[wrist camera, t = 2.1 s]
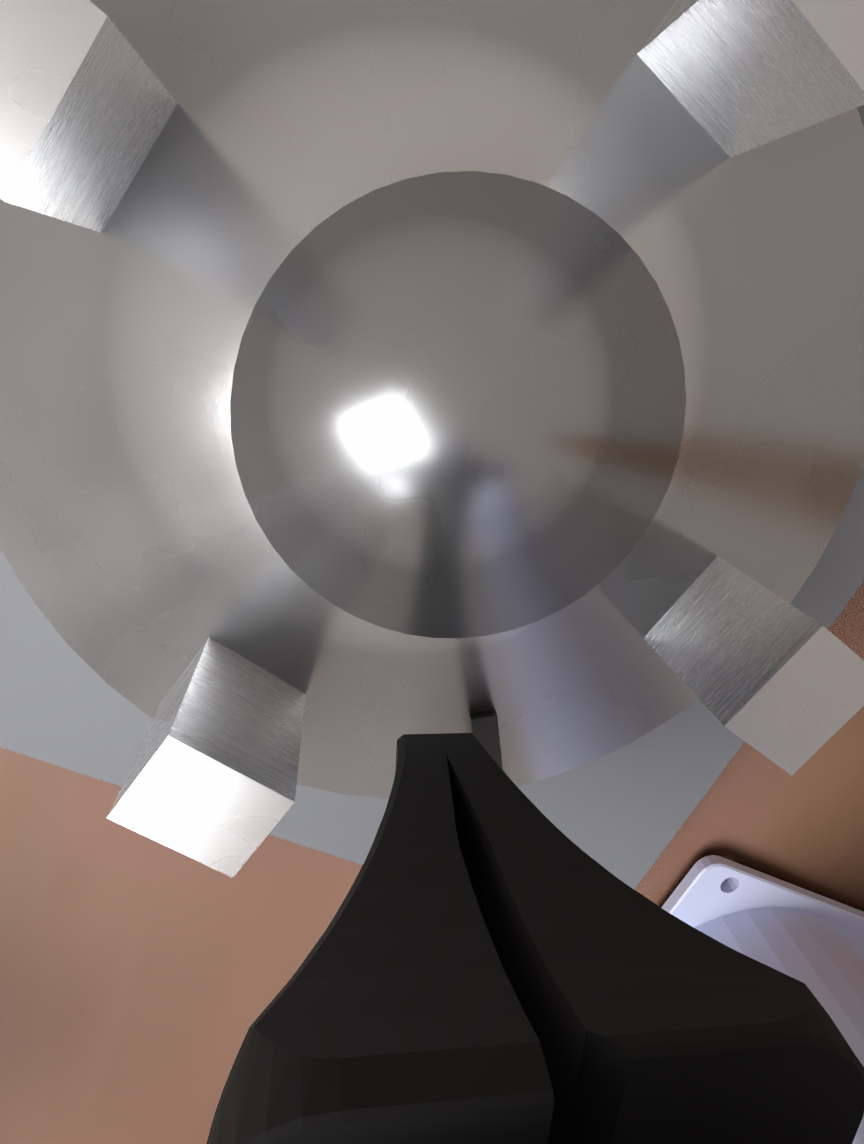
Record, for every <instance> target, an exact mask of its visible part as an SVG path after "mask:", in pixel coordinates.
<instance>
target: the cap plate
mask: <svg viewBox="0 0 864 1144" xmlns="http://www.w3.org/2000/svg"><path fill="white" fill-rule="evenodd" d="M857 109H858V112H859V115H860V118H861V121H862V124H863V127H864V105H862V106H860V107H857ZM863 582H864V463H863V467H862V470H861V472H860V475H859V477H858V479H857V482H856V484H855V487H854V489H853V492H852V494H851V496H850V499H849V501H848V504H847V506H846V508H845V511H844V513H843V516H842V518H841V520H840V522H839V524H838V526H837V528H836V530H835V532H834V533H833V535H832V537H831V539H830V541H829V543H828V544H827V546H826V548H825V550H824V552H823V553H822V555H821V557H820V559H819V561H818V563H817V564H816V566H815V568H814V570H813V571H812V573H811V574H810V576H809V577H808V578H807V580H806V581H805V583H804V584H803V586H802V587H801V588H800V590H799V591H798V593H797V594H796V596H795V597H794V599H793V600H792V601H791V603H790V604H791V605H792V606H794V607H795V608H797V609H798V610H800V611H801V612H803V613H804V614H806V615H807V616H809V617H811V618H812V619H814V620H815V621H817V622H818V623H820V624H821V625H823V626H824V627H825V628H826V629H827V630H828V629H829V628H830V627H831V625H832V624H833V623H834V621H835V620H836V618H837V617H838V616H839V614H840V613H841V612H842V610H843V609H844V608H845V606H846V605H847V604H848V602H849V601H850V600H851V598H852V597H853V596H854V594H855V593H856V592H857V590H858V589H859V588H860V586H861V585H862V584H863ZM152 720H153V719H152V718H151V717H149V716H148V715H147V714H145V713H144V712H143V711H142V710H140V709H139V708H138V707H136V706H135V705H134V704H133V703H131V702H130V701H129V700H128V699H126V698H125V697H124V696H122V695H121V694H120V693H119V692H117V691H116V690H115V689H113V688H112V687H111V686H110V685H108V684H107V683H106V682H105V681H104V680H103V679H102V678H101V677H100V676H99V675H98V674H97V673H96V672H95V671H94V670H93V669H92V668H91V667H90V666H89V665H88V664H87V663H86V662H85V661H84V660H83V659H82V658H81V657H80V656H79V655H78V654H77V653H76V652H75V651H74V650H73V649H72V648H71V647H70V646H69V645H68V644H67V643H66V642H65V641H64V640H63V638H62V637H61V636H60V635H59V633H58V632H57V631H56V630H55V628H54V627H53V626H52V624H51V623H50V622H49V621H48V619H47V618H46V617H45V616H44V614H43V613H42V612H41V611H40V609H39V608H38V607H37V605H36V604H35V603H34V602H33V600H32V599H31V598H30V597H29V595H28V594H27V592H26V590H25V589H24V587H23V585H22V584H21V582H20V580H19V579H18V577H17V575H16V574H15V572H14V570H13V569H12V567H11V566H10V564H9V562H8V561H7V559H6V557H5V556H4V554H3V552H2V551H1V549H0V747H1V748H4V749H7V750H10V751H13V752H16V753H19V754H22V755H25V756H29V757H32V758H35V759H38V760H41V761H44V762H47V763H50V764H53V765H56V766H59V767H62V768H66V769H69V770H72V771H75V772H78V773H81V774H84V775H87V776H90V777H93V778H96V779H99V780H102V781H106V782H109V783H112V784H115V785H118V786H122V784H123V782H124V780H125V778H126V776H127V773H128V771H129V769H130V767H131V765H132V763H133V761H134V759H135V756H136V754H137V752H138V750H139V748H140V746H141V744H142V741H143V739H144V737H145V735H146V733H147V731H148V729H149V726H150V724H151V722H152ZM744 742H745V741H743V740H742V739H741V738H739V737H738V736H737V735H735V734H734V733H733V732H731V731H730V730H728V729H727V728H726V727H724V726H723V725H722V723H721V722H720V721H719V720H718V719H717V718H716V717H715V716H714V715H713V714H712V713H711V711H710V710H709V709H708V708H707V707H706V706H705V705H704V704H703V703H702V702H701V700H700V699H699V698H698V699H696V700H695V701H694V702H692V703H691V704H690V705H689V706H687V707H686V708H685V709H683V710H682V711H681V712H679V713H678V714H677V715H675V716H674V717H673V718H671V719H670V720H668V721H666V722H665V723H663V724H661V725H660V726H658V727H657V728H655V729H653V730H652V731H650V732H648V733H647V734H645V735H643V736H642V737H640V738H638V739H637V740H635V741H633V742H632V743H630V744H628V745H626V746H624V747H622V748H620V749H618V750H616V751H613V752H611V753H609V754H607V755H605V756H603V757H601V758H599V759H597V760H594V761H592V762H590V763H588V764H586V765H583V766H581V767H578V768H575V769H572V770H569V771H566V772H563V773H561V774H558V775H555V776H552V777H549V778H546V779H543V780H541V781H537V782H533V783H529V784H524V785H520V786H517V787H518V788H519V789H520V790H521V791H522V792H523V793H524V794H525V795H526V797H527V798H528V799H529V800H530V801H531V802H532V803H533V804H534V805H535V806H536V807H537V808H538V809H539V810H540V811H541V812H542V813H543V814H544V815H545V816H546V817H547V818H548V819H549V820H550V821H551V822H552V823H553V824H554V825H555V826H556V827H557V828H558V829H559V830H560V831H561V832H562V833H563V834H564V835H565V836H566V837H567V838H569V839H570V840H571V841H572V842H573V843H574V844H575V845H577V846H578V847H579V848H580V849H581V850H582V851H584V852H585V853H586V854H587V855H589V856H590V857H591V858H593V859H594V860H595V861H596V862H598V863H599V864H600V865H601V866H603V867H604V868H605V869H606V870H608V871H609V872H610V873H611V874H613V875H614V876H615V877H617V878H618V879H620V880H621V881H622V882H624V883H625V884H627V885H628V886H629V887H631V888H632V889H635V888H636V886H637V885H638V884H639V882H640V881H641V880H642V878H643V877H644V876H645V874H646V873H647V872H648V870H649V869H650V868H651V866H652V865H653V864H654V862H655V861H656V860H657V858H658V857H659V856H660V854H661V853H662V852H663V850H664V849H665V848H666V846H667V845H668V844H669V842H670V841H671V840H672V838H673V837H674V836H675V834H676V833H677V832H678V830H679V829H680V828H681V826H682V825H683V824H684V822H685V821H686V819H687V818H688V817H689V815H690V814H691V813H692V811H693V810H694V809H695V807H696V806H697V805H698V803H699V802H700V801H701V799H702V798H703V797H704V795H705V794H706V793H707V791H708V790H709V789H710V787H711V786H712V785H713V783H714V782H715V781H716V779H717V778H718V777H719V775H720V774H721V773H722V771H723V770H724V769H725V767H726V766H727V765H728V763H729V762H730V761H731V759H732V758H733V757H734V755H735V754H736V752H737V751H738V750H739V748H740V747H741V746H742V744H743V743H744ZM388 800H389V799H388V798H377V797H367V796H356V795H345V794H340V793H335V792H330V791H325V790H320V789H316V788H311V787H306V786H301V785H296V795H295V803H294V804H293V805H292V806H291V807H290V809H289V810H288V811H287V812H286V813H285V815H284V816H283V817H282V818H281V819H280V821H279V822H278V823H277V824H276V826H275V827H274V828H273V829H272V830H271V832H270V833H269V835H272V836H275V837H278V838H281V839H284V840H287V841H290V842H293V843H296V844H300V845H303V846H306V847H309V848H312V849H315V850H318V851H321V852H324V853H327V854H330V855H333V856H336V857H340V858H343V859H346V860H349V861H352V862H355V863H358V864H361V865H363V864H364V862H365V860H366V857H367V855H368V853H369V851H370V848H371V846H372V844H373V841H374V839H375V836H376V834H377V831H378V829H379V826H380V823H381V821H382V818H383V816H384V813H385V810H386V807H387V803H388Z"/></svg>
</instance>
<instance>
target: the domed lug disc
mask: <svg viewBox="0 0 864 1144" xmlns="http://www.w3.org/2000/svg"><path fill="white" fill-rule="evenodd" d="M862 105H864V0H0V549H1V551H2V552H3V554H4V556H5V557H6V559H7V561H8V562H9V564H10V566H11V567H12V569H13V570H14V572H15V574H16V575H17V577H18V579H19V580H20V582H21V584H22V585H23V587H24V589H25V590H26V592H27V594H28V595H29V597H30V598H31V599H32V600H33V602H34V603H35V604H36V605H37V607H38V608H39V609H40V611H41V612H42V613H43V614H44V616H45V617H46V618H47V619H48V621H49V622H50V623H51V624H52V626H53V627H54V628H55V630H56V631H57V632H58V633H59V635H60V636H61V637H62V638H63V640H64V641H65V642H66V643H67V644H68V645H69V646H70V647H71V648H72V649H73V650H74V651H75V652H76V653H77V654H78V655H79V656H80V657H81V658H82V659H83V660H84V661H85V662H86V663H87V664H88V665H89V666H90V667H91V668H92V669H93V670H94V671H95V672H96V673H97V674H98V675H99V676H100V677H101V678H102V679H103V680H104V681H105V682H106V683H107V684H108V685H110V686H111V687H112V688H113V689H115V690H116V691H117V692H119V693H120V694H121V695H122V696H124V697H125V698H126V699H128V700H129V701H130V702H131V703H133V704H134V705H135V706H136V707H138V708H139V709H140V710H142V711H143V712H144V713H145V714H147V715H148V716H149V717H151V718H152V719H153V720H152V722H151V724H150V726H149V729H148V731H147V733H146V735H145V737H144V739H143V741H142V744H141V746H140V748H139V750H138V752H137V754H136V756H135V759H134V761H133V763H132V765H131V767H130V769H129V771H128V773H127V776H126V778H125V780H124V782H123V784H122V786H121V788H120V791H119V793H118V795H117V797H116V799H115V801H114V803H113V806H112V808H111V810H110V812H109V814H108V816H107V819H109V820H112V821H114V822H116V823H118V824H120V825H122V826H124V827H126V828H129V829H131V830H133V831H135V832H137V833H139V834H141V835H143V836H145V837H148V838H150V839H152V840H154V841H156V842H158V843H160V844H162V845H164V846H167V847H169V848H171V849H173V850H175V851H177V852H179V853H181V854H183V855H186V856H188V857H190V858H192V859H194V860H196V861H198V862H200V863H203V864H205V865H207V866H209V867H211V868H213V869H215V870H217V871H219V872H222V873H224V874H226V875H228V876H230V877H232V878H233V877H234V875H235V874H236V873H237V872H238V870H239V869H240V868H241V867H242V866H243V864H244V863H245V862H246V861H247V860H248V858H249V857H250V856H251V855H252V853H253V852H254V851H255V850H256V849H257V847H258V846H259V845H260V844H261V843H262V841H263V840H264V839H265V838H266V836H267V835H268V834H269V833H270V832H271V830H272V829H273V828H274V827H275V826H276V824H277V823H278V822H279V821H280V819H281V818H282V817H283V816H284V815H285V813H286V812H287V811H288V810H289V809H290V807H291V806H292V805H293V804H294V803H295V795H296V785H301V786H306V787H311V788H316V789H320V790H325V791H330V792H335V793H340V794H345V795H356V796H367V797H377V798H388V799H389V796H390V793H391V789H392V786H393V782H394V778H395V770H396V746H397V739H399V738H400V737H401V736H402V735H403V734H442V733H472V734H473V735H474V736H475V737H476V738H477V739H478V741H479V742H480V743H481V744H482V745H483V747H484V748H485V749H486V750H487V752H488V753H489V754H490V755H491V757H492V758H493V759H494V760H495V761H496V763H497V764H498V765H499V766H500V767H501V768H502V770H503V771H504V772H505V773H506V774H507V776H508V777H509V778H510V779H511V780H512V781H513V782H514V784H515V785H516V786H520V785H524V784H529V783H533V782H537V781H541V780H543V779H546V778H549V777H552V776H555V775H558V774H561V773H563V772H566V771H569V770H572V769H575V768H578V767H581V766H583V765H586V764H588V763H590V762H592V761H594V760H597V759H599V758H601V757H603V756H605V755H607V754H609V753H611V752H613V751H616V750H618V749H620V748H622V747H624V746H626V745H628V744H630V743H632V742H633V741H635V740H637V739H638V738H640V737H642V736H643V735H645V734H647V733H648V732H650V731H652V730H653V729H655V728H657V727H658V726H660V725H661V724H663V723H665V722H666V721H668V720H670V719H671V718H673V717H674V716H675V715H677V714H678V713H679V712H681V711H682V710H683V709H685V708H686V707H687V706H689V705H690V704H691V703H692V702H694V701H695V700H696V699H698V698H699V699H700V700H701V702H702V703H703V704H704V705H705V706H706V707H707V708H708V709H709V710H710V711H711V713H712V714H713V715H714V716H715V717H716V718H717V719H718V720H719V721H720V722H721V723H722V725H723V726H724V727H726V728H727V729H728V730H730V731H731V732H733V733H734V734H735V735H737V736H738V737H739V738H741V739H742V740H743V741H745V742H746V743H748V744H749V745H750V746H752V747H753V748H754V749H756V750H757V751H759V752H760V753H761V754H763V755H764V756H765V757H767V758H768V759H770V760H771V761H772V762H774V763H775V764H776V765H778V766H779V767H781V768H782V769H783V770H785V771H786V772H787V773H789V774H790V775H793V774H794V773H795V772H796V771H797V770H798V769H799V768H800V767H801V766H802V765H803V764H804V763H805V762H806V761H807V760H808V759H809V758H810V757H811V756H812V755H814V754H815V753H816V752H817V751H818V750H819V749H820V748H821V747H822V746H823V745H824V744H825V743H826V742H827V741H828V740H829V739H830V738H831V737H832V736H833V735H834V734H835V733H836V732H837V731H838V730H839V729H840V728H841V727H842V726H843V725H844V724H845V723H846V722H847V721H848V720H849V719H851V718H852V717H853V716H854V715H855V714H856V713H857V712H858V711H859V710H860V709H861V708H862V707H863V706H864V660H863V659H861V658H860V657H859V656H858V655H857V654H856V653H854V652H853V651H852V650H851V649H850V648H848V647H847V646H846V645H845V644H844V643H843V642H841V641H840V640H839V639H838V638H837V637H836V636H834V635H833V634H832V633H831V632H830V631H829V630H827V629H826V628H825V627H824V626H823V625H821V624H820V623H818V622H817V621H815V620H814V619H812V618H811V617H809V616H807V615H806V614H804V613H803V612H801V611H800V610H798V609H797V608H795V607H794V606H792V605H791V604H790V603H791V601H792V600H793V599H794V597H795V596H796V594H797V593H798V591H799V590H800V588H801V587H802V586H803V584H804V583H805V581H806V580H807V578H808V577H809V576H810V574H811V573H812V571H813V570H814V568H815V566H816V564H817V563H818V561H819V559H820V557H821V555H822V553H823V552H824V550H825V548H826V546H827V544H828V543H829V541H830V539H831V537H832V535H833V533H834V532H835V530H836V528H837V526H838V524H839V522H840V520H841V518H842V516H843V513H844V511H845V508H846V506H847V504H848V501H849V499H850V496H851V494H852V492H853V489H854V487H855V484H856V482H857V479H858V477H859V475H860V472H861V470H862V467H863V463H864V127H863V124H862V121H861V118H860V115H859V112H858V109H857V107H860V106H862Z"/></svg>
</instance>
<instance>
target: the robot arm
mask: <svg viewBox="0 0 864 1144" xmlns="http://www.w3.org/2000/svg"><path fill="white" fill-rule="evenodd" d="M727 878H728V879H727ZM725 879H726V880H725ZM207 1144H864V912H863V911H861V910H858V909H855V908H853V907H850V906H848V905H845V904H842V903H840V902H837V901H835V900H832V899H829V898H827V897H824V896H822V895H819V894H817V893H814V892H811V891H809V890H806V889H804V888H801V887H798V886H796V885H793V884H791V883H788V882H785V881H783V880H780V879H778V878H775V877H772V876H770V875H767V874H765V873H762V872H760V871H757V870H754V869H752V868H749V867H747V866H744V865H741V864H739V863H736V862H734V861H731V860H728V859H726V858H723V857H721V856H716V855H710V856H705V857H703V858H701V859H699V860H698V861H697V862H696V863H695V864H694V866H693V867H692V868H691V869H690V871H689V872H688V873H687V875H686V876H685V877H684V879H683V880H682V881H681V882H680V884H679V885H678V886H677V888H676V889H675V890H674V892H673V893H672V894H671V895H670V897H669V898H668V899H667V901H666V902H665V903H664V905H663V906H662V907H659V906H658V905H656V904H655V903H653V902H652V901H650V900H649V899H647V898H646V897H644V896H643V895H641V894H640V893H638V892H637V891H635V890H634V889H632V888H631V887H629V886H628V885H627V884H625V883H624V882H622V881H621V880H620V879H618V878H617V877H615V876H614V875H613V874H611V873H610V872H609V871H608V870H606V869H605V868H604V867H603V866H601V865H600V864H599V863H598V862H596V861H595V860H594V859H593V858H591V857H590V856H589V855H587V854H586V853H585V852H584V851H582V850H581V849H580V848H579V847H578V846H577V845H575V844H574V843H573V842H572V841H571V840H570V839H569V838H567V837H566V836H565V835H564V834H563V833H562V832H561V831H560V830H559V829H558V828H557V827H556V826H555V825H554V824H553V823H552V822H551V821H550V820H549V819H548V818H547V817H546V816H545V815H544V814H543V813H542V812H541V811H540V810H539V809H538V808H537V807H536V806H535V805H534V804H533V803H532V802H531V801H530V800H529V799H528V798H527V797H526V795H525V794H524V793H523V792H522V791H521V790H520V789H519V788H518V787H517V786H516V785H515V784H514V782H513V781H512V780H511V779H510V778H509V777H508V776H507V774H506V773H505V772H504V771H503V770H502V768H501V767H500V766H499V765H498V764H497V763H496V761H495V760H494V759H493V758H492V757H491V755H490V754H489V753H488V752H487V750H486V749H485V748H484V747H483V745H482V744H481V743H480V742H479V741H478V739H477V738H476V737H475V736H474V735H473V734H472V733H442V734H403V735H402V736H401V737H400V738H399V739H397V746H396V770H395V778H394V782H393V786H392V789H391V793H390V796H389V800H388V803H387V807H386V810H385V813H384V816H383V818H382V821H381V823H380V826H379V829H378V831H377V834H376V836H375V839H374V841H373V844H372V846H371V848H370V851H369V853H368V855H367V857H366V860H365V862H364V864H363V866H362V868H361V870H360V872H359V874H358V876H357V878H356V880H355V882H354V884H353V885H352V887H351V889H350V891H349V893H348V894H347V896H346V898H345V899H344V901H343V903H342V905H341V906H340V908H339V910H338V912H337V913H336V915H335V917H334V918H333V920H332V921H331V923H330V925H329V926H328V928H327V929H326V931H325V932H324V934H323V935H322V936H321V938H320V939H319V941H318V942H317V943H316V945H315V946H314V948H313V949H312V950H311V952H310V953H309V955H308V956H307V957H306V959H305V960H304V962H303V963H302V964H301V966H300V967H299V969H298V970H297V971H296V973H295V974H294V975H293V977H292V978H291V979H290V980H289V982H288V983H287V984H286V985H285V986H284V988H283V989H282V990H281V991H280V992H279V993H278V995H277V996H276V997H275V998H274V999H273V1000H272V1002H271V1003H270V1004H269V1005H268V1006H267V1007H266V1009H265V1010H264V1011H263V1012H262V1013H261V1015H260V1016H259V1017H258V1018H257V1019H256V1020H255V1022H254V1023H253V1024H252V1025H251V1026H250V1027H249V1030H248V1032H247V1034H246V1037H245V1039H244V1041H243V1043H242V1046H241V1048H240V1050H239V1053H238V1055H237V1057H236V1060H235V1062H234V1064H233V1067H232V1069H231V1072H230V1074H229V1077H228V1079H227V1082H226V1084H225V1087H224V1089H223V1092H222V1095H221V1098H220V1101H219V1103H218V1106H217V1109H216V1112H215V1116H214V1119H213V1122H212V1126H211V1129H210V1133H209V1137H208V1141H207Z"/></svg>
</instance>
